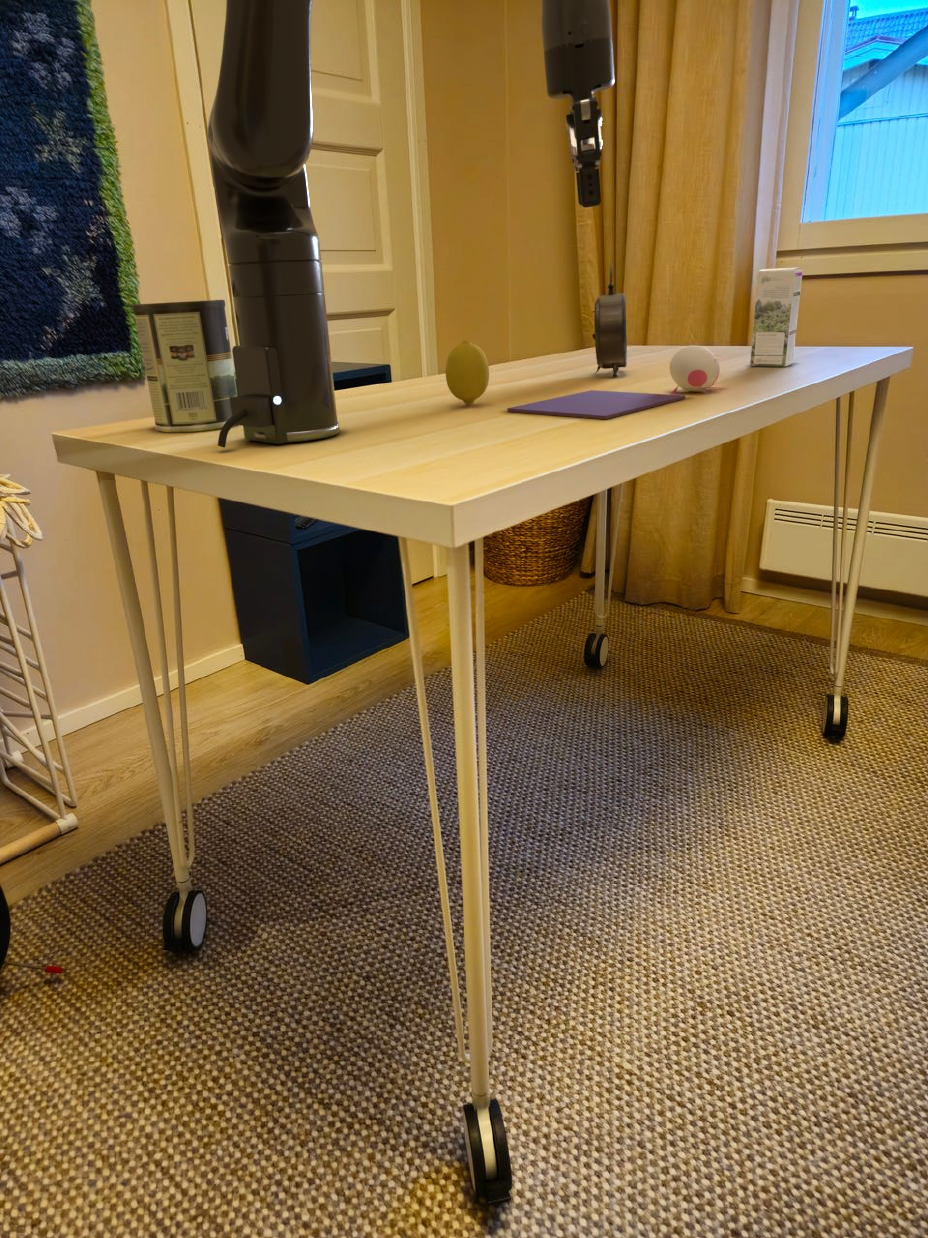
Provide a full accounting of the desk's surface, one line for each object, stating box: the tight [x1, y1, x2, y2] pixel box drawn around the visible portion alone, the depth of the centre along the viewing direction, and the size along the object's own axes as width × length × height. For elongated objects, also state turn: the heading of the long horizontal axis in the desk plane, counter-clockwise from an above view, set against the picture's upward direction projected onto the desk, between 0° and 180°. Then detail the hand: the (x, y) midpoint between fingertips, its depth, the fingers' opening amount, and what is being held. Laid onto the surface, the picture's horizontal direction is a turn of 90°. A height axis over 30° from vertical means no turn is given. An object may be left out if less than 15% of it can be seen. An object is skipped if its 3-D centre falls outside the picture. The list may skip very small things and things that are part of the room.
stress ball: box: [669, 345, 721, 394], centre depth 108 cm, size 8×8×7 cm
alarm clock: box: [591, 263, 628, 378], centre depth 129 cm, size 11×5×16 cm, turn 168°
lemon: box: [445, 339, 490, 406], centre depth 105 cm, size 6×6×8 cm
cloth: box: [506, 389, 686, 420], centre depth 101 cm, size 18×14×1 cm
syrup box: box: [749, 266, 803, 367], centre depth 131 cm, size 6×6×14 cm
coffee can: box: [131, 299, 238, 433], centre depth 98 cm, size 10×10×14 cm
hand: (589, 205), depth 98 cm, fingers open, 8 cm apart
